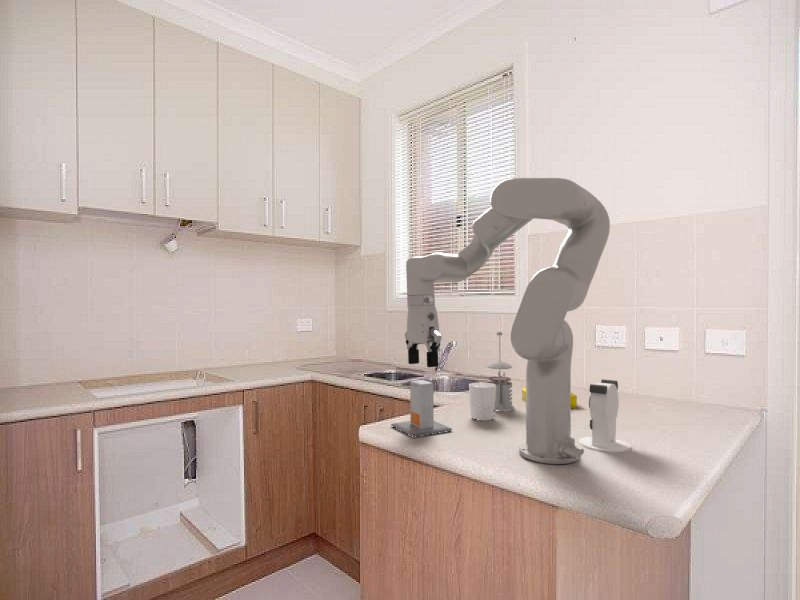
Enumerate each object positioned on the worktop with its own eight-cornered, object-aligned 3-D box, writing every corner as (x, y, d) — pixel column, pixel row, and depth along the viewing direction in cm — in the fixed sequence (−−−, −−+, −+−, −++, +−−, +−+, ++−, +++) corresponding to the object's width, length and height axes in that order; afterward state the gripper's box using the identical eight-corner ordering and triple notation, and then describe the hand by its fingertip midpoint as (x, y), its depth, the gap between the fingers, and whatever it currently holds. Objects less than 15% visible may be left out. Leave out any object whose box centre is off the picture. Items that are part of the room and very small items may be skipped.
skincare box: (409, 424, 124) (409, 380, 124) (423, 422, 126) (423, 379, 126) (420, 429, 119) (420, 384, 119) (434, 427, 121) (434, 382, 121)
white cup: (465, 419, 132) (465, 385, 132) (473, 414, 139) (473, 381, 139) (491, 423, 129) (491, 388, 129) (499, 416, 136) (498, 383, 136)
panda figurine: (588, 434, 117) (587, 376, 117) (636, 443, 110) (636, 381, 110) (572, 445, 108) (572, 383, 108) (624, 455, 101) (623, 388, 101)
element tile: (579, 409, 147) (578, 394, 147) (533, 409, 147) (533, 394, 147) (562, 399, 162) (562, 386, 162) (520, 399, 162) (520, 386, 162)
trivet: (451, 431, 120) (451, 428, 120) (413, 437, 114) (413, 434, 114) (427, 421, 131) (427, 418, 131) (391, 426, 125) (391, 423, 125)
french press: (512, 404, 152) (512, 330, 152) (518, 413, 140) (518, 332, 140) (483, 404, 153) (483, 330, 153) (486, 412, 141) (486, 332, 141)
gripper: (450, 300, 117) (452, 367, 116) (416, 303, 132) (418, 361, 132) (426, 301, 113) (428, 369, 113) (394, 303, 129) (395, 363, 128)
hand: (422, 365), depth 122 cm, fingers open, 9 cm apart
